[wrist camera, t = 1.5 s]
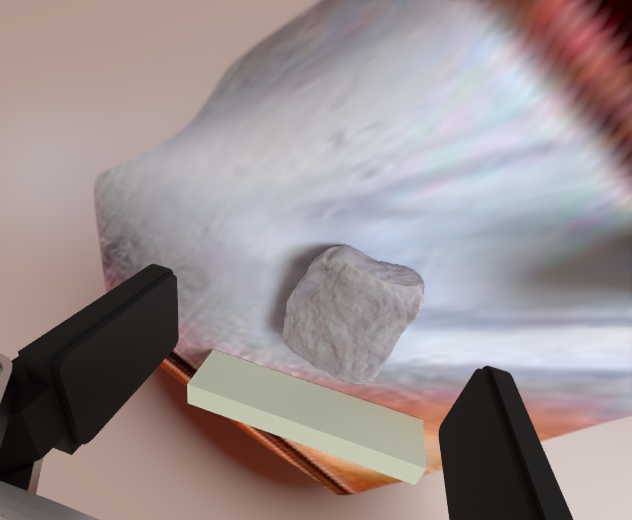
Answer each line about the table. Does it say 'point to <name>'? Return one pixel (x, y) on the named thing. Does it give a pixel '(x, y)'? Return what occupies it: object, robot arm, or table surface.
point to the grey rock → (351, 312)
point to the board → (311, 415)
